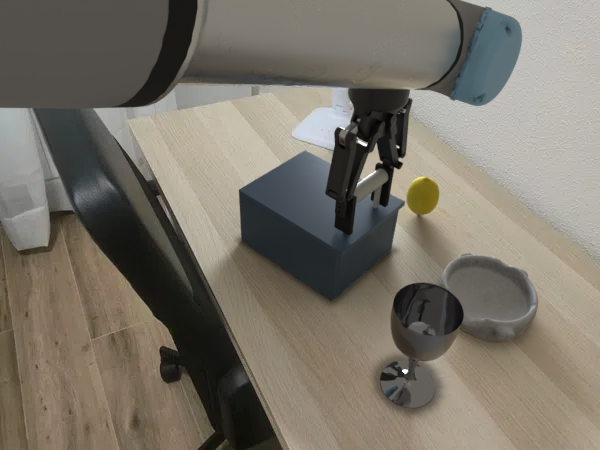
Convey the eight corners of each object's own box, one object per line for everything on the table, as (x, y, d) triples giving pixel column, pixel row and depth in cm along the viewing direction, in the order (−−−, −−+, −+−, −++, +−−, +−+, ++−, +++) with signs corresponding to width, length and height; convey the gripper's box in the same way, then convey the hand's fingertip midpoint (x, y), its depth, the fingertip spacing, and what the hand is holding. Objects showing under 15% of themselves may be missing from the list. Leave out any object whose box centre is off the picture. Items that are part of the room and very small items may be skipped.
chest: (391, 249, 91) (400, 203, 85) (331, 301, 82) (336, 254, 76) (303, 198, 101) (305, 154, 95) (241, 240, 92) (238, 193, 86)
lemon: (440, 217, 98) (450, 181, 93) (417, 227, 96) (425, 191, 91) (420, 200, 102) (428, 164, 96) (396, 210, 99) (403, 173, 94)
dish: (514, 362, 75) (524, 339, 72) (420, 316, 81) (426, 293, 77) (543, 297, 84) (553, 274, 81) (457, 260, 90) (464, 237, 87)
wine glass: (415, 423, 68) (439, 348, 58) (364, 384, 72) (379, 308, 62) (449, 382, 72) (477, 307, 63) (399, 348, 76) (418, 272, 67)
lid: (404, 205, 85) (412, 165, 80) (341, 256, 76) (346, 214, 71) (305, 153, 95) (306, 115, 90) (238, 193, 86) (236, 153, 81)
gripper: (353, 111, 58) (337, 264, 73) (453, 53, 70) (422, 195, 85) (299, 87, 62) (294, 238, 76) (403, 36, 74) (382, 175, 88)
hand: (361, 215), depth 81 cm, fingers closed on lid, 8 cm apart
